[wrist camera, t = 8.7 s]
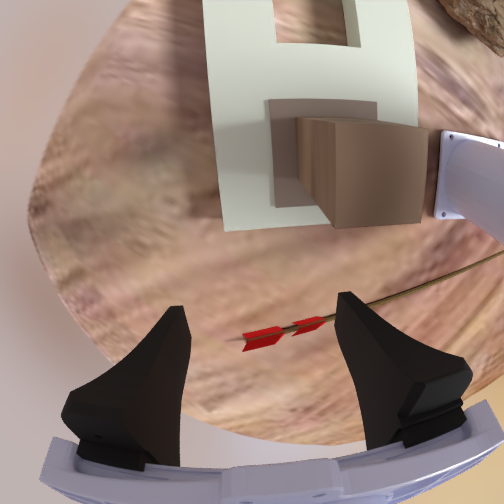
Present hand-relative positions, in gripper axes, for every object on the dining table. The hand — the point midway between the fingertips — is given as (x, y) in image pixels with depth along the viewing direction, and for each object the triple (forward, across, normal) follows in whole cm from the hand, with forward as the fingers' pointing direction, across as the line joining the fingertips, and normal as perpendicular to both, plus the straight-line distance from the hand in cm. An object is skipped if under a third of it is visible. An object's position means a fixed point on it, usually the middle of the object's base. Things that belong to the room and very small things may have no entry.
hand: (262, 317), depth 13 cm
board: (+10, -5, -11) cm, 16 cm away
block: (+8, -5, -6) cm, 11 cm away
